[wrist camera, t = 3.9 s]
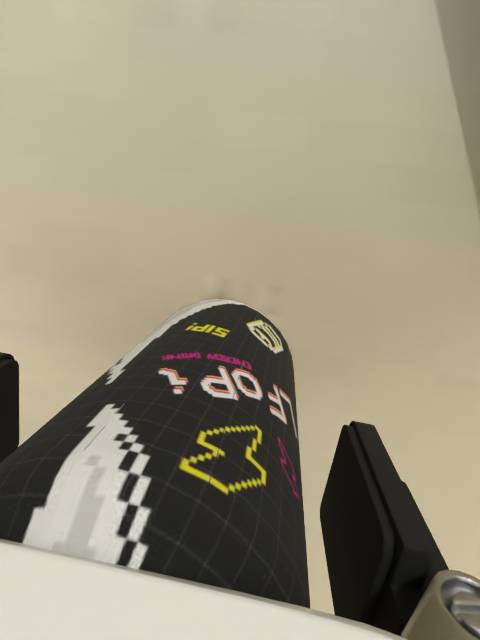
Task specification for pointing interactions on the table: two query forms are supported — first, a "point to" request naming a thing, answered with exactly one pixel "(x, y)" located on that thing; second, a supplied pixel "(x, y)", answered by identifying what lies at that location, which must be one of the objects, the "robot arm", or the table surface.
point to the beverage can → (176, 460)
